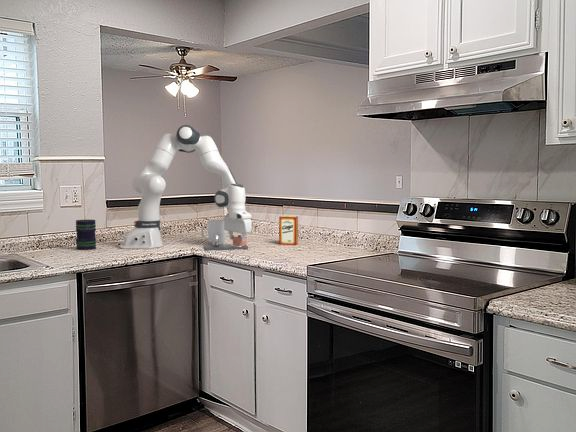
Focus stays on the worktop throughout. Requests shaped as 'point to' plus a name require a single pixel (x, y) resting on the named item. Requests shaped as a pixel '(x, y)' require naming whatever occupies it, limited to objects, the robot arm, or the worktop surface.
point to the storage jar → (85, 234)
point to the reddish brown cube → (239, 241)
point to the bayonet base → (223, 247)
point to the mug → (215, 230)
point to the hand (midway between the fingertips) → (237, 240)
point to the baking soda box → (288, 230)
